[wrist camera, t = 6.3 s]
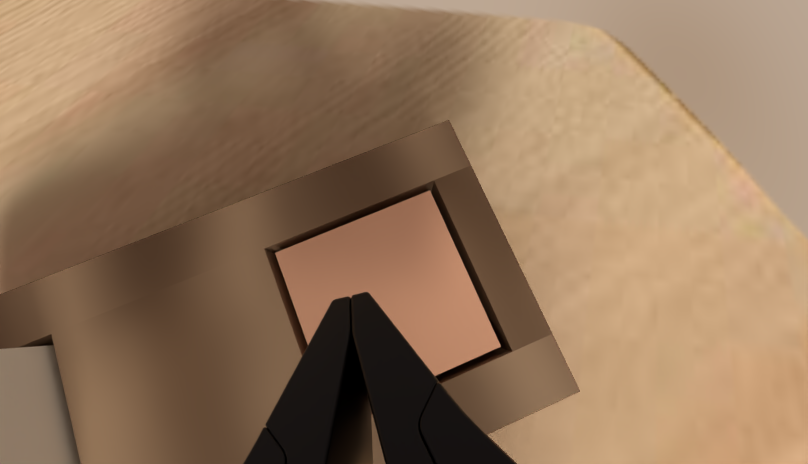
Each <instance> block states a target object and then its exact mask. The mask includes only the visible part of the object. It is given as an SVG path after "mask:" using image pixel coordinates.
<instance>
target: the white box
mask: <svg viewBox="0 0 808 464" xmlns="http://www.w3.org/2000/svg"><path fill="white" fill-rule="evenodd" d="M0 464H81V462H80V458H79V453H78V449H77V444H76V440H75V436H74V431H73V427H72V422H71V418H70V414H69V409H68V405H67V400H66V396H65V392H64V387H63V383H62V378H61V374H60V370H59V365H58V361H57V357H56V352H55V348H54V345H50V346H35V347H21V348H7V349H0Z"/></svg>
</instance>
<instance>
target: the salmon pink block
mask: <svg viewBox="0 0 808 464" xmlns="http://www.w3.org/2000/svg"><path fill="white" fill-rule="evenodd" d="M275 254H276V257H277V260H278V263H279V266H280V268H281V271H282V274H283V277H284V280H285V282H286V285H287V288H288V291H289V294H290V296H291V299H292V302H293V305H294V308H295V310H296V313H297V316H298V319H299V322H300V324H301V327H302V330H303V333H304V336H305V338H306V341H307V344H309V343H310V341H311V339H312V337H313V335H314V333H315V331H316V330H317V328H318V326H319V324H320V322H321V320H322V319H323V317H324V315H325V313H326V311H327V309H328V307H329V306H330V304H331V302H332V301H333V300H335V299H338V298H342V297H346V296H349V297H350V298H351V297H352V295H355V294H359V293H363V292H369V293H370V294H371V296H372V297H373V298H374V299H375V301H376V302H377V303H378V305H379V306H380V307H381V308H382V310H383V311H384V312H385V313H386V315H387V316H388V317H389V318H390V320H391V321H392V322H393V324H394V325H395V326H396V327H397V329H398V330H399V331H400V332H401V334H402V335H403V336H404V338H405V339H406V340H407V341H408V343H409V344H410V345H411V346H412V348H413V349H414V350H415V351H416V353H417V354H418V355H419V357H420V358H421V359H422V360H423V362H424V363H425V364H426V365H427V367H428V368H429V369H430V371H431V372H432V373H433V374H434V376H436V375H438V374H441V373H443V372H445V371H447V370H450V369H452V368H454V367H456V366H459V365H461V364H463V363H465V362H468V361H470V360H472V359H474V358H477V357H479V356H481V355H483V354H485V353H488V352H490V351H492V350H494V349H497V348H499V347H501V345H500V343H499V341H498V339H497V337H496V334H495V332H494V330H493V328H492V326H491V323H490V321H489V319H488V317H487V315H486V313H485V310H484V308H483V306H482V304H481V302H480V299H479V297H478V295H477V293H476V291H475V288H474V286H473V284H472V282H471V280H470V277H469V275H468V273H467V271H466V269H465V266H464V264H463V262H462V260H461V258H460V255H459V253H458V251H457V249H456V247H455V244H454V242H453V240H452V238H451V236H450V233H449V231H448V229H447V227H446V225H445V222H444V220H443V218H442V216H441V214H440V211H439V209H438V207H437V205H436V203H435V200H434V198H433V196H432V194H431V192H430V191H427V192H425V193H422V194H420V195H417V196H415V197H412V198H410V199H407V200H405V201H402V202H400V203H397V204H395V205H392V206H390V207H388V208H385V209H383V210H380V211H378V212H375V213H373V214H370V215H368V216H365V217H363V218H360V219H358V220H355V221H353V222H350V223H348V224H345V225H343V226H340V227H338V228H335V229H333V230H331V231H328V232H326V233H323V234H321V235H318V236H316V237H313V238H311V239H308V240H306V241H303V242H301V243H298V244H296V245H293V246H291V247H288V248H286V249H283V250H281V251H278V252H276V253H275Z"/></svg>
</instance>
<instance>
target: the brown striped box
mask: <svg viewBox="0 0 808 464" xmlns="http://www.w3.org/2000/svg"><path fill="white" fill-rule="evenodd" d="M427 191H430V192H431V194H432V196H433V198H434V200H435V203H436V205H437V207H438V209H439V211H440V214H441V216H442V218H443V220H444V222H445V225H446V227H447V229H448V231H449V233H450V236H451V238H452V240H453V242H454V244H455V247H456V249H457V251H458V253H459V255H460V258H461V260H462V262H463V264H464V266H465V269H466V271H467V273H468V275H469V277H470V280H471V282H472V284H473V286H474V288H475V291H476V293H477V295H478V297H479V299H480V302H481V304H482V306H483V308H484V310H485V313H486V315H487V317H488V319H489V321H490V323H491V326H492V328H493V330H494V332H495V334H496V337H497V339H498V341H499V343H500V345H501V347H499V348H497V349H494V350H492V351H490V352H488V353H485V354H483V355H481V356H479V357H477V358H474V359H472V360H470V361H468V362H465V363H463V364H461V365H459V366H456V367H454V368H452V369H450V370H447V371H445V372H443V373H441V374H438V375H436V376H435V377H436V378H437V379H438V381H439V383H441V384H442V385H443V387H444V388H445V389H446V391H447V392H448V393H449V394H450V396H451V397H452V398H453V399H454V400H455V401H456V403H457V404H458V405H459V406H460V407H461V408H462V410H463V411H464V412H465V413H466V414H467V415H468V416H469V417H470V418H471V419H472V420H473V421H474V422H475V423H476V425H477V426H478V427H479V428H480V429H481V430H482V431H483V432H484V433H485V434H486V435H487V434H489V433H492V432H494V431H496V430H498V429H500V428H502V427H504V426H507V425H509V424H511V423H513V422H515V421H517V420H519V419H522V418H524V417H526V416H528V415H530V414H532V413H535V412H537V411H539V410H541V409H543V408H545V407H547V406H550V405H552V404H554V403H556V402H558V401H560V400H563V399H565V398H567V397H569V396H571V395H573V394H575V393H578V392H580V390H579V388H578V386H577V384H576V382H575V379H574V377H573V375H572V373H571V371H570V369H569V367H568V365H567V363H566V361H565V359H564V357H563V355H562V353H561V351H560V348H559V346H558V344H557V342H556V340H555V338H554V336H553V334H552V332H551V330H550V328H549V326H548V324H547V322H546V320H545V317H544V315H543V313H542V311H541V309H540V307H539V305H538V303H537V301H536V299H535V297H534V295H533V293H532V291H531V289H530V286H529V284H528V282H527V280H526V278H525V276H524V274H523V272H522V270H521V268H520V266H519V264H518V262H517V260H516V258H515V255H514V253H513V251H512V249H511V247H510V245H509V243H508V241H507V239H506V237H505V235H504V233H503V231H502V229H501V227H500V224H499V222H498V220H497V218H496V216H495V214H494V212H493V210H492V208H491V206H490V204H489V202H488V200H487V198H486V196H485V193H484V191H483V189H482V187H481V185H480V183H479V181H478V179H477V177H476V175H475V173H474V171H473V169H472V167H471V165H470V162H469V160H468V158H467V156H466V154H465V152H464V150H463V148H462V146H461V144H460V142H459V140H458V138H457V136H456V134H455V132H454V129H453V127H452V125H451V123H450V121H449V120H447V121H445V122H442V123H440V124H437V125H435V126H432V127H429V128H427V129H424V130H422V131H419V132H417V133H414V134H411V135H409V136H406V137H404V138H401V139H399V140H396V141H393V142H391V143H388V144H386V145H383V146H381V147H378V148H375V149H373V150H370V151H368V152H365V153H363V154H360V155H357V156H355V157H352V158H350V159H347V160H345V161H342V162H340V163H337V164H334V165H332V166H329V167H327V168H324V169H322V170H319V171H316V172H314V173H311V174H309V175H306V176H304V177H301V178H298V179H296V180H293V181H291V182H288V183H286V184H283V185H280V186H278V187H275V188H273V189H270V190H268V191H265V192H262V193H260V194H257V195H255V196H252V197H250V198H247V199H244V200H242V201H239V202H237V203H234V204H232V205H229V206H226V207H224V208H221V209H219V210H216V211H214V212H211V213H209V214H206V215H203V216H201V217H198V218H196V219H193V220H191V221H188V222H185V223H183V224H180V225H178V226H175V227H173V228H170V229H167V230H165V231H162V232H160V233H157V234H155V235H152V236H149V237H147V238H144V239H142V240H139V241H137V242H134V243H131V244H129V245H126V246H124V247H121V248H119V249H116V250H113V251H111V252H108V253H106V254H103V255H101V256H98V257H95V258H93V259H90V260H88V261H85V262H83V263H80V264H77V265H75V266H72V267H70V268H67V269H65V270H62V271H60V272H57V273H54V274H52V275H49V276H47V277H44V278H42V279H39V280H36V281H34V282H31V283H29V284H26V285H24V286H21V287H18V288H16V289H13V290H11V291H8V292H6V293H3V294H0V349H7V348H21V347H35V346H50V345H54V348H55V352H56V357H57V361H58V365H59V370H60V374H61V378H62V383H63V387H64V392H65V396H66V400H67V405H68V409H69V414H70V418H71V422H72V427H73V431H74V436H75V440H76V444H77V449H78V453H79V458H80V462H81V464H243V463H244V461H245V460H246V458H247V456H248V454H249V453H250V451H251V449H252V447H253V446H254V444H255V442H256V440H257V438H258V436H259V435H260V433H261V431H262V429H263V428H264V427H266V426H265V424H266V422H267V420H268V418H269V416H270V415H271V413H272V411H273V409H274V407H275V405H276V403H277V402H278V400H279V398H280V396H281V394H282V392H283V391H284V389H285V387H286V385H287V383H288V381H289V379H290V378H291V376H292V374H293V372H294V370H295V368H296V367H297V365H298V363H299V361H300V359H301V357H302V355H303V354H304V352H305V350H306V348H307V346H308V344H307V341H306V338H305V336H304V333H303V330H302V327H301V324H300V322H299V319H298V316H297V313H296V310H295V308H294V305H293V302H292V299H291V296H290V294H289V291H288V288H287V285H286V282H285V280H284V277H283V274H282V271H281V268H280V266H279V263H278V260H277V257H276V254H275V253H276V252H278V251H281V250H283V249H286V248H288V247H291V246H293V245H296V244H298V243H301V242H303V241H306V240H308V239H311V238H313V237H316V236H318V235H321V234H323V233H326V232H328V231H331V230H333V229H335V228H338V227H340V226H343V225H345V224H348V223H350V222H353V221H355V220H358V219H360V218H363V217H365V216H368V215H370V214H373V213H375V212H378V211H380V210H383V209H385V208H388V207H390V206H392V205H395V204H397V203H400V202H402V201H405V200H407V199H410V198H412V197H415V196H417V195H420V194H422V193H425V192H427ZM371 421H372V450H373V464H385V460H384V456H383V453H382V449H381V445H380V441H379V437H378V433H377V429H376V426H375V422H374V418H373V414H372V410H371Z"/></svg>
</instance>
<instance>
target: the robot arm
mask: <svg viewBox="0 0 808 464" xmlns="http://www.w3.org/2000/svg"><path fill="white" fill-rule="evenodd" d="M371 410H372V414H373V418H374V422H375V426H376V429H377V433H378V437H379V441H380V445H381V449H382V453H383V456H384V460H385V464H517V463H516V462H515V461H514V460H512V459H511V458H510V457H509V456H508V455H507V454H506V453H505V452H504V451H503V450H502V449H501V448H500V447H499V446H498V445H497V444H496V443H495V442H494V441H493V440H492V439H491V438H489V437H488V436H487V435H486V434H485V433H484V432H483V431H482V430H481V429H480V428H479V427H478V426H477V425H476V423H475V422H474V421H473V420H472V419H471V418H470V417H469V416H468V415H467V414H466V413H465V412H464V411H463V410H462V408H461V407H460V406H459V405H458V404H457V403H456V401H455V400H454V399H453V398H452V397H451V396H450V394H449V393H448V392H447V391H446V389H445V388H444V387H443V385H442V384H441V383H439V381H438V379H437V378H436V377H435V376H434V374H433V373H432V372H431V371H430V369H429V368H428V367H427V365H426V364H425V363H424V362H423V360H422V359H421V358H420V357H419V355H418V354H417V353H416V351H415V350H414V349H413V348H412V346H411V345H410V344H409V343H408V341H407V340H406V339H405V338H404V336H403V335H402V334H401V332H400V331H399V330H398V329H397V327H396V326H395V325H394V324H393V322H392V321H391V320H390V318H389V317H388V316H387V315H386V313H385V312H384V311H383V310H382V308H381V307H380V306H379V305H378V303H377V302H376V301H375V299H374V298H373V297H372V296H371V294H370V293H369V292H363V293H359V294H355V295H352V297H351V298H350V297H349V296H346V297H342V298H338V299H335V300H333V301H332V302H331V304H330V306H329V307H328V309H327V311H326V313H325V315H324V317H323V319H322V320H321V322H320V324H319V326H318V328H317V330H316V331H315V333H314V335H313V337H312V339H311V341H310V343H309V344H308V346H307V348H306V350H305V352H304V354H303V355H302V357H301V359H300V361H299V363H298V365H297V367H296V368H295V370H294V372H293V374H292V376H291V378H290V379H289V381H288V383H287V385H286V387H285V389H284V391H283V392H282V394H281V396H280V398H279V400H278V402H277V403H276V405H275V407H274V409H273V411H272V413H271V415H270V416H269V418H268V420H267V422H266V424H265V426H266V427H264V428H263V429H262V431H261V433H260V435H259V436H258V438H257V440H256V442H255V444H254V446H253V447H252V449H251V451H250V453H249V454H248V456H247V458H246V460H245V461H244V463H243V464H373V450H372V421H371Z"/></svg>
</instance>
